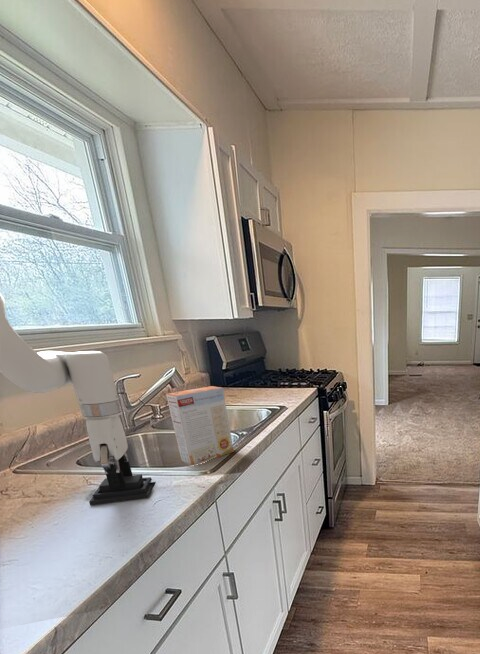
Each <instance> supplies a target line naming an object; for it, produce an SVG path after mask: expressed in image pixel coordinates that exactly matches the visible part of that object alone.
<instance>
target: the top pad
mask: <svg viewBox="0 0 480 654" xmlns="http://www.w3.org/2000/svg"><path fill="white" fill-rule="evenodd" d="M143 478H144V477H143V474H132V476H124V480H125V484H126V487H125V488H119V489H110V487H109V484H108V480H107V477H106V478H104V479H103V480H102V482H101V483H100V484H99V485H98V488H100V491H101V493H105V492H114V491H122V490H131V489H139V488H142V487H143V485H144V483H145V481H143Z"/></svg>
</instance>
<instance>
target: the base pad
mask: <svg viewBox="0 0 480 654" xmlns="http://www.w3.org/2000/svg"><path fill="white" fill-rule="evenodd" d="M151 480H152V477H151V476H150V477H149V476H148V477H143V481H144V482H143V483H144V485H143V487H142V488H139V489H131V490H122V491H114V492H105V493H101V491H100V488H99V487H98V488H97V489H96V490H95V491H94V493H92V497H91V498H90V499H89V501H88V503H89V505H90V506H96V505H102V504H103V505H104V504H113V503H120V502H127V501H137V500H142V499H149V498H150V496H151V493H152V492H153V490H154V488H155V486H156V483H157V482H156V481H153V482H152V481H151Z"/></svg>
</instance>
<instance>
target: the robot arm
mask: <svg viewBox="0 0 480 654" xmlns="http://www.w3.org/2000/svg"><path fill="white" fill-rule="evenodd" d="M0 373H1V375H3V376H4V377H5V378H6V379H7V380H9V382H12V384H14V385H15V386H17V387H19V388H21V389H22V390H24V391H26V392H29V393H33V394H45V393H46V394H47V393H48V392H52V391H55V390H57V389H59V388H62V387H65V386H69V385H72V387H73V391H74V393H75V396H76V399H77V403H78V406H79V409H80V414H81V416H82V419H84V420H85V424H86V431H87V436H88V440H89V445H90V448H91V449H90V450H91V453H92V458H93V460H94V462H95V463H100V465H101V467H102V469H103V470H104V474H105V475H106V476H105V477H106V478H107V480H108V484H109V487H110V489H119V488H125V487H126V484H125V480H124V476H132V475H133V471H132V467H131V464H130V461H129V456H128V454H127V450H128V448H129V446H128V445H129V444H128V441H127V435H126V433H125V430H124V426H123V422H122V419H121V417H120V416H121V415H123V410H122V406H121V402H120V399H119V394H118V391H117V388H116V382H115V379H114V376H113V371H112V368H111V364H110V360H109V358H108V355H107V354H106V353H104V352H102V351H99V350H83V351H73V352H70V351H69V352H68V351H58V350H43V351H36V350H34V348H32V346H30V345H29V344H28V343H27V342H26V341H25V340H24V339H23V338H22V336H20V334H18V332H16V330H15V329H14V328H13V326H12V324H11V323H10V322H9V319H8V318H7V315H6V300H5V298H4V296H3V295H2V294H1V293H0ZM110 458H112V459H110Z"/></svg>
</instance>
